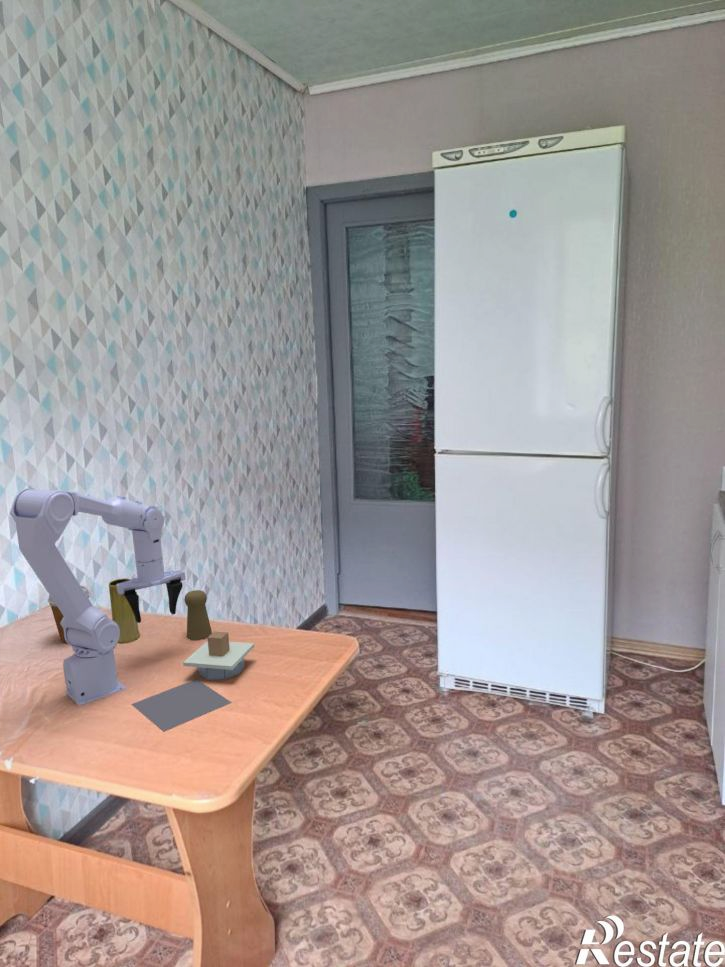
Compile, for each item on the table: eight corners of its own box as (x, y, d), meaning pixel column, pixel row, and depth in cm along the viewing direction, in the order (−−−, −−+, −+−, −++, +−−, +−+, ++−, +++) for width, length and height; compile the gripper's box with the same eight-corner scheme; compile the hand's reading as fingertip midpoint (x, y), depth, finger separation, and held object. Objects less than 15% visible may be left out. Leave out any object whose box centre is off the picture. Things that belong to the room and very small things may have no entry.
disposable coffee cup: (95, 627, 172) (89, 582, 169) (95, 641, 163) (89, 594, 161) (54, 634, 168) (48, 588, 166) (52, 649, 160) (45, 601, 157)
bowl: (214, 685, 138) (212, 669, 137) (192, 671, 145) (191, 656, 144) (251, 670, 144) (250, 654, 143) (229, 657, 151) (228, 642, 150)
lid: (232, 669, 137) (230, 647, 136) (183, 665, 140) (181, 644, 139) (254, 646, 147) (252, 626, 146) (208, 643, 150) (206, 623, 149)
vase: (108, 642, 162) (100, 585, 159) (124, 631, 168) (117, 577, 165) (130, 644, 160) (122, 586, 158) (145, 633, 166) (138, 578, 163)
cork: (208, 639, 161) (204, 595, 159) (183, 640, 161) (178, 596, 159) (214, 629, 167) (210, 587, 164) (190, 630, 167) (185, 588, 165)
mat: (163, 733, 121) (163, 731, 121) (131, 706, 131) (131, 704, 131) (232, 704, 130) (231, 702, 130) (196, 680, 140) (196, 678, 140)
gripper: (119, 570, 141) (126, 630, 144) (187, 556, 149) (193, 614, 152) (111, 562, 147) (119, 620, 150) (177, 549, 155) (183, 605, 157)
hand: (155, 617), depth 151 cm, fingers open, 7 cm apart
